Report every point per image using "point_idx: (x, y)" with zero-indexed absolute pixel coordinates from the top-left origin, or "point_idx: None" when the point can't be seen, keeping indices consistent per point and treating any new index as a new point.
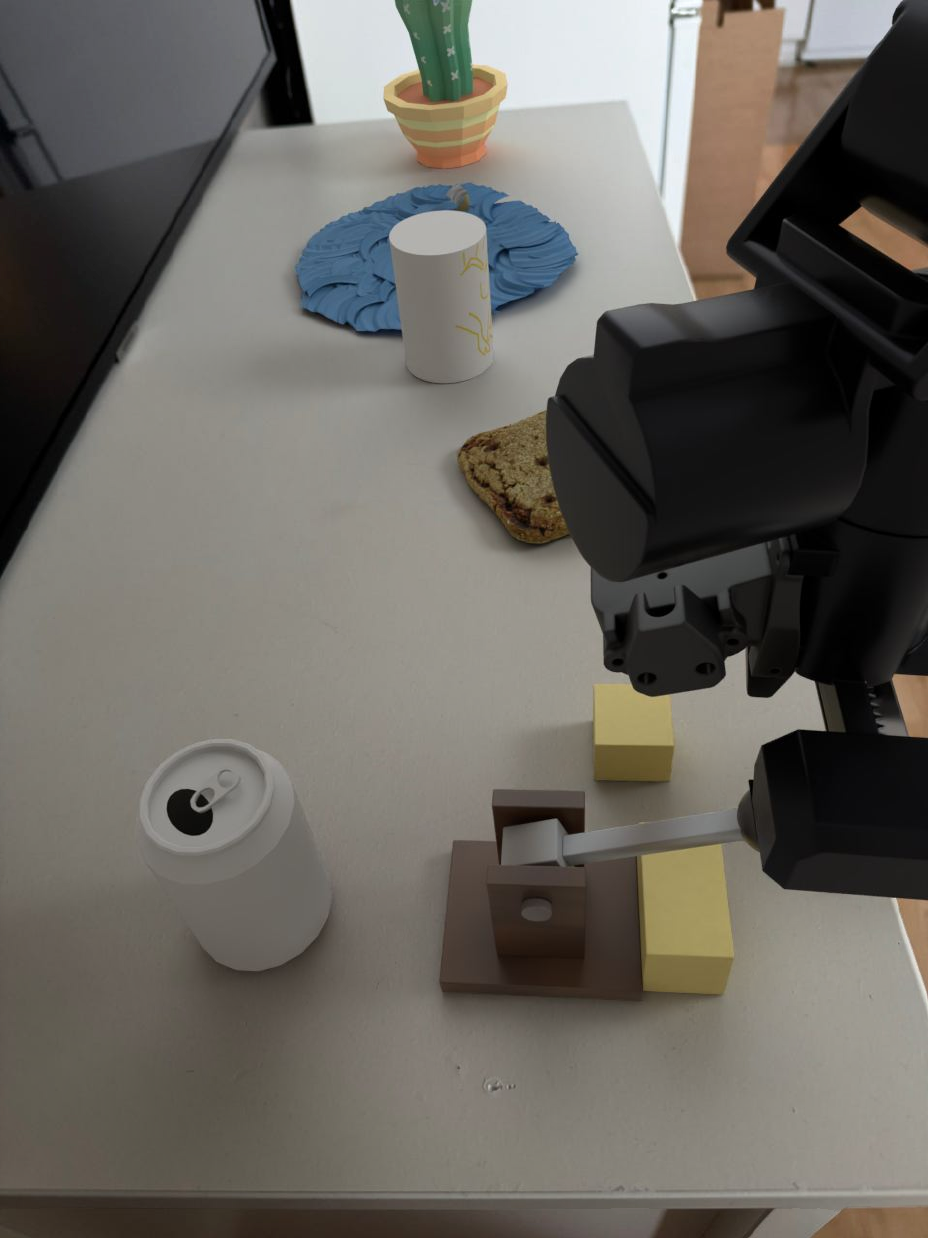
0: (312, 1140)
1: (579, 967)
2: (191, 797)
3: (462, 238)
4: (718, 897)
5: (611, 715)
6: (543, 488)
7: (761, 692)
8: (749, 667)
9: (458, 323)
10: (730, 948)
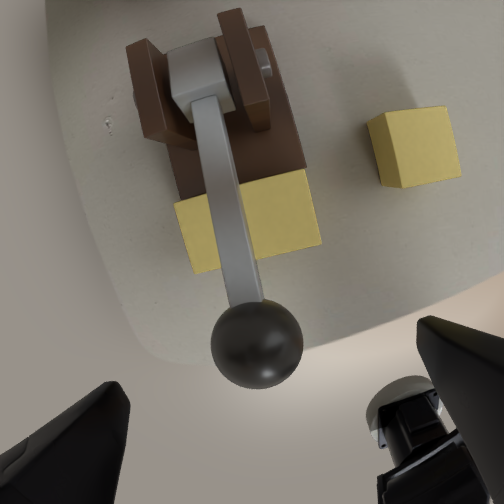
0: (66, 50)
1: (184, 149)
2: None
3: None
4: None
5: (419, 124)
6: None
7: (421, 340)
8: (452, 345)
9: None
10: (200, 270)
